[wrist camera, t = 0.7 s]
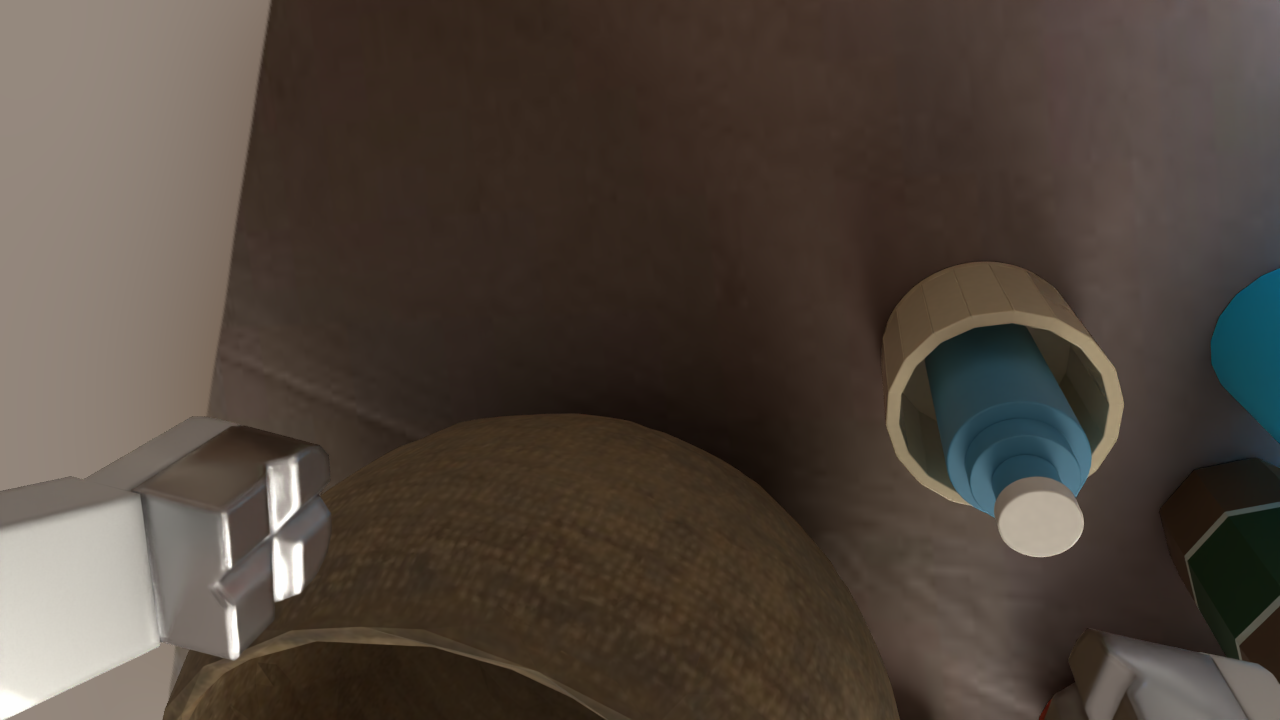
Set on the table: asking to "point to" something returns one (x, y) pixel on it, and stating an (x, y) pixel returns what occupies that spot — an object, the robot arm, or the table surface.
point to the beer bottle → (1231, 554)
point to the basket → (554, 593)
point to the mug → (1252, 350)
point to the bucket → (978, 302)
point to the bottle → (1010, 436)
